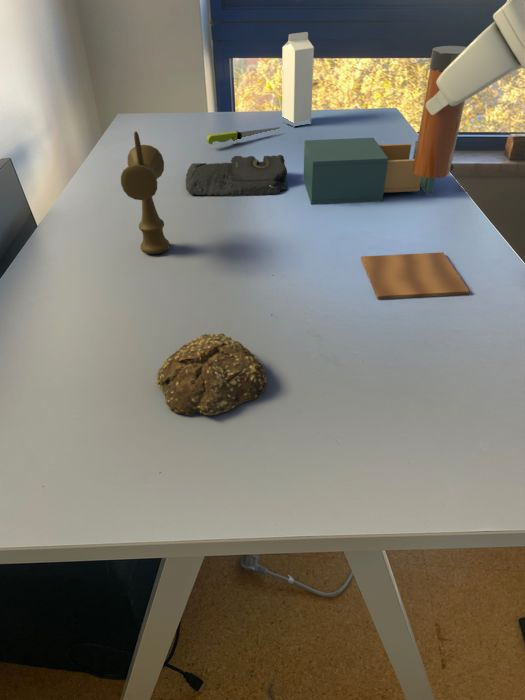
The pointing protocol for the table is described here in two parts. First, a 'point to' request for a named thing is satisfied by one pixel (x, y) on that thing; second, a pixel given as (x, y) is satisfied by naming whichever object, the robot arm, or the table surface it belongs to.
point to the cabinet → (344, 170)
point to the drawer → (403, 170)
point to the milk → (297, 78)
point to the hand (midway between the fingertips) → (439, 103)
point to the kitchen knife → (234, 135)
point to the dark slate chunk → (238, 177)
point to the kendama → (146, 193)
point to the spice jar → (438, 122)
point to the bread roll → (210, 376)
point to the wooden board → (413, 276)
